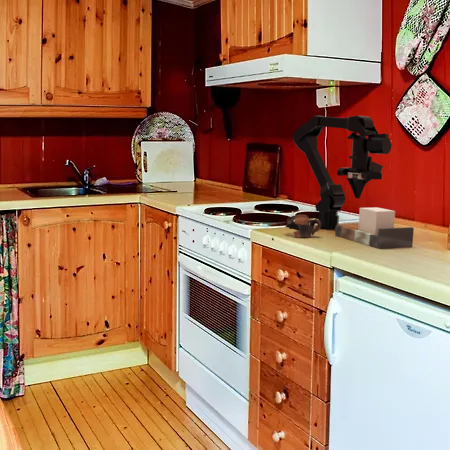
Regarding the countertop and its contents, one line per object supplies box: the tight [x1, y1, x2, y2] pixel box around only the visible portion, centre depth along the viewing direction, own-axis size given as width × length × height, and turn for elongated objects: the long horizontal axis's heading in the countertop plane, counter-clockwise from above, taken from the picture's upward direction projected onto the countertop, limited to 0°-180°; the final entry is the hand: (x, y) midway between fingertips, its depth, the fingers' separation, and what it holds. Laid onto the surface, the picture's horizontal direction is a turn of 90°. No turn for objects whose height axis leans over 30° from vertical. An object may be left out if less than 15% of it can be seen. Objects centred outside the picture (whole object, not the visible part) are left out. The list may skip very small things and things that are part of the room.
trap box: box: [334, 224, 415, 250], centre depth 202 cm, size 24×12×6 cm, turn 23°
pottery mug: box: [284, 214, 322, 239], centre depth 209 cm, size 12×10×8 cm
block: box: [357, 207, 396, 236], centre depth 200 cm, size 9×7×8 cm
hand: (357, 198), depth 217 cm, fingers closed
